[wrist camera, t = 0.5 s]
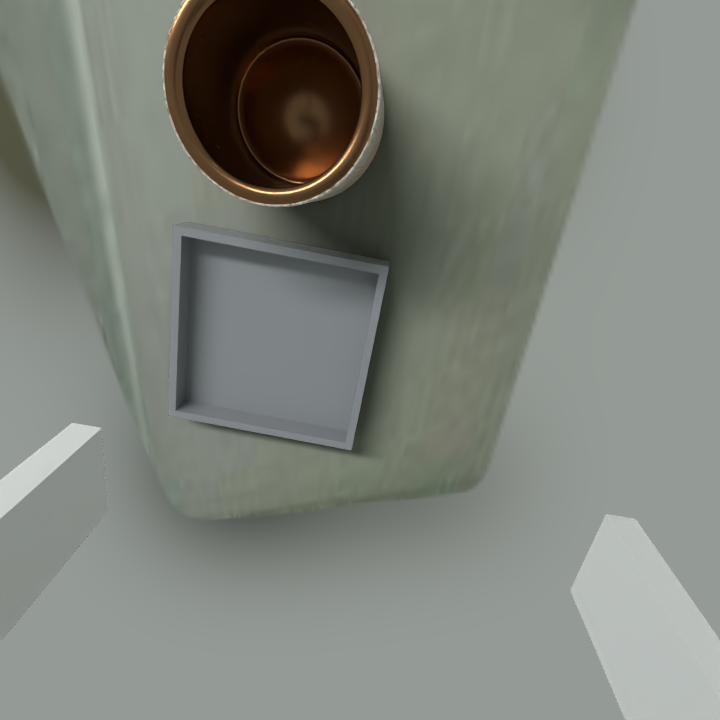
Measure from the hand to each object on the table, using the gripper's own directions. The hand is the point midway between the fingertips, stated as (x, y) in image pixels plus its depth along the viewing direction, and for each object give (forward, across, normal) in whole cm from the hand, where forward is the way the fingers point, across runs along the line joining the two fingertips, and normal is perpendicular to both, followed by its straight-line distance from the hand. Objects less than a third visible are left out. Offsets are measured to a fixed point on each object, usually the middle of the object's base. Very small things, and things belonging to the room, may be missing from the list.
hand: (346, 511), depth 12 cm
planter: (+25, -7, +11) cm, 28 cm away
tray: (+25, -7, -5) cm, 26 cm away
